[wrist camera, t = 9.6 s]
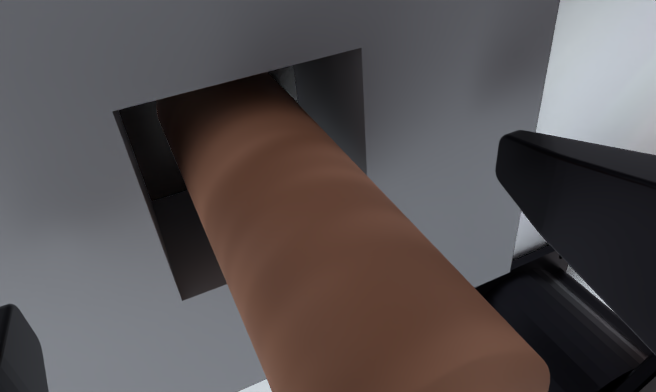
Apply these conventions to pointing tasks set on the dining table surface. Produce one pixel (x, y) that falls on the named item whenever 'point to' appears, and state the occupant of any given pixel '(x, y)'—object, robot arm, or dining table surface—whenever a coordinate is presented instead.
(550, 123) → the dining table surface
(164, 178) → the dining table surface
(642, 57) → the dining table surface
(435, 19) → the hole block
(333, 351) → the terracotta peg
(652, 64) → the dining table surface
